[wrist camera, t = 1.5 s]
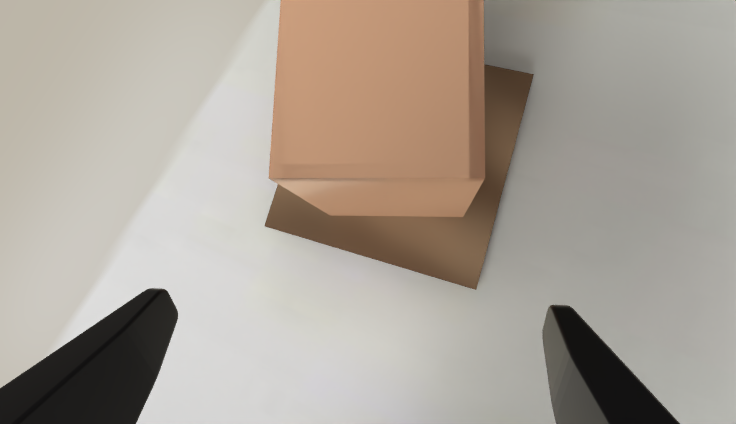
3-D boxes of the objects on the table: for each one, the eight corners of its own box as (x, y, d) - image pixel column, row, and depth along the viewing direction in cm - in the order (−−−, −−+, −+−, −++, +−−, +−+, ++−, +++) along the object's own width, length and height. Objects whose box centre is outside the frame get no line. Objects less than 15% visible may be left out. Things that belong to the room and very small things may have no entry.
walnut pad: (474, 288, 22) (476, 289, 21) (271, 228, 25) (264, 226, 24) (529, 82, 24) (533, 74, 23) (331, 41, 26) (327, 32, 25)
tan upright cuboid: (463, 216, 22) (485, 177, 13) (329, 215, 23) (268, 178, 14) (462, 88, 23) (483, -28, 14) (335, 92, 24) (281, -13, 15)
